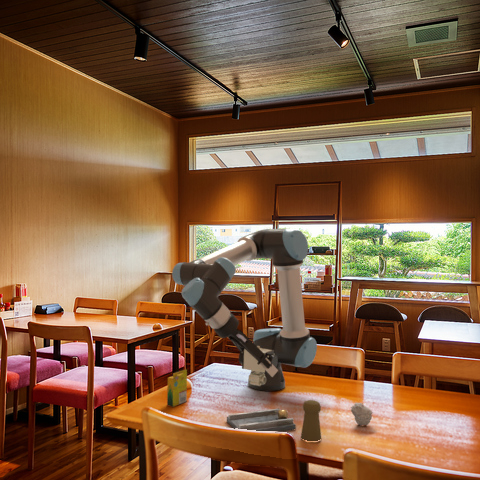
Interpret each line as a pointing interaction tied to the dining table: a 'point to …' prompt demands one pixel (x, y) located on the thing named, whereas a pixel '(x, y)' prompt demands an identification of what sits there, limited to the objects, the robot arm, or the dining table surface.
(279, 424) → the grey tray
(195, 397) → the dining table surface
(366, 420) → the gray rock
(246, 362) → the pneumatic valve
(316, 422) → the olive pepper shaker
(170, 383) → the crayon box
